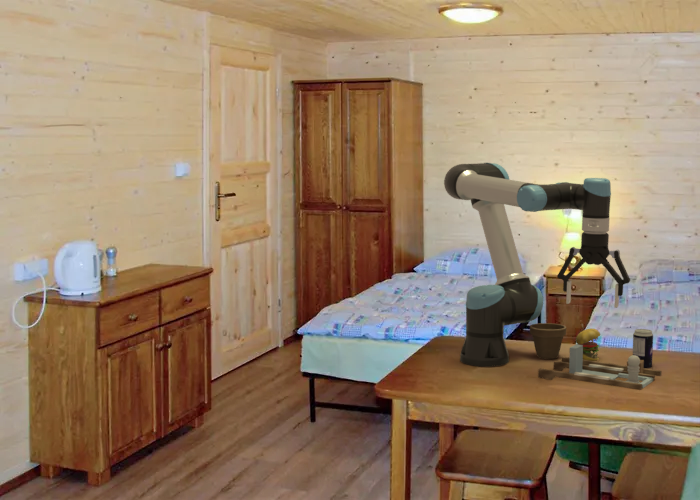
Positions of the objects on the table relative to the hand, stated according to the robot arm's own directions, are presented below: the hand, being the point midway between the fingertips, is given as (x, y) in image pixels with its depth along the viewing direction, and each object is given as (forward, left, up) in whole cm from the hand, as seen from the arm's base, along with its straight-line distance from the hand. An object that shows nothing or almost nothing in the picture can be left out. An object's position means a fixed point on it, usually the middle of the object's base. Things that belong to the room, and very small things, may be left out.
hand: (592, 305), depth 262 cm
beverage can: (+10, +16, -22) cm, 29 cm away
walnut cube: (+11, +5, -20) cm, 24 cm away
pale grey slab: (+7, -3, -21) cm, 22 cm away
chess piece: (+14, -3, -22) cm, 26 cm away
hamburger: (-7, +16, -22) cm, 28 cm away
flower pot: (-20, +15, -22) cm, 33 cm away
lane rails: (+3, -1, -21) cm, 21 cm away
